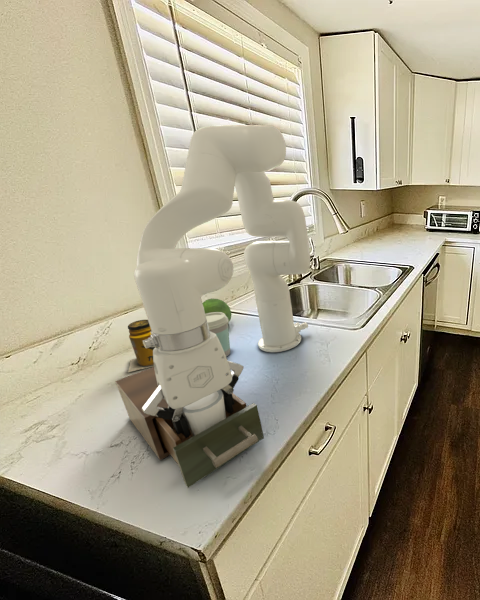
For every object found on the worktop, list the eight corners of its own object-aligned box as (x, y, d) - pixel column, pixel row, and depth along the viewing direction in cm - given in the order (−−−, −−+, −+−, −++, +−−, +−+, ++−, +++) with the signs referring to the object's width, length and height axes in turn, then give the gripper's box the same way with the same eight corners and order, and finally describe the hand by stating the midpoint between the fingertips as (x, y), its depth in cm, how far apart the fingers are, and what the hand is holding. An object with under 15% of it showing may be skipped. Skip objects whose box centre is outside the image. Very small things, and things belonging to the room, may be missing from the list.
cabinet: (238, 416, 71) (229, 377, 67) (160, 460, 60) (144, 418, 56) (202, 385, 81) (193, 351, 77) (130, 419, 70) (115, 381, 66)
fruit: (200, 320, 117) (193, 294, 113) (230, 314, 122) (225, 289, 118) (201, 337, 105) (194, 308, 101) (235, 329, 110) (229, 302, 106)
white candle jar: (187, 449, 56) (176, 417, 53) (190, 424, 62) (180, 394, 59) (231, 435, 59) (223, 404, 56) (230, 412, 65) (222, 383, 62)
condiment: (166, 363, 91) (154, 324, 86) (128, 373, 86) (113, 332, 82) (166, 352, 96) (155, 315, 92) (130, 360, 92) (117, 322, 88)
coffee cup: (241, 349, 97) (234, 313, 93) (218, 364, 90) (208, 325, 85) (219, 345, 100) (211, 309, 95) (195, 359, 92) (184, 321, 88)
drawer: (279, 450, 60) (273, 416, 57) (201, 506, 50) (189, 468, 47) (223, 404, 73) (215, 374, 70) (152, 441, 63) (140, 408, 60)
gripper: (124, 365, 45) (160, 462, 51) (245, 322, 57) (262, 404, 64) (109, 349, 49) (144, 440, 55) (225, 312, 62) (243, 390, 68)
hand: (207, 420), depth 60 cm, fingers closed on white candle jar, 6 cm apart
